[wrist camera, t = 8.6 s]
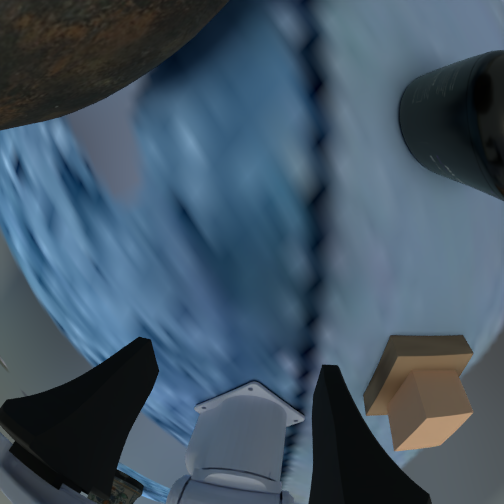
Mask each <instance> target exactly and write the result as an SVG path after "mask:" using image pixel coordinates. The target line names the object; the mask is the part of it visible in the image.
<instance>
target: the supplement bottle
mask: <svg viewBox="0 0 504 504" xmlns="http://www.w3.org/2000/svg"><path fill="white" fill-rule="evenodd" d="M400 123H401V129H402V133H403V136H404V139H405V141H406V143H407V145H408V147H409V149H410V151H411V152H412V154H413V155H414V156H415V158H416V159H417V160H418V161H419V162H420V163H421V164H422V165H423V166H425V167H426V168H427V169H429V170H430V171H432V172H434V173H436V174H439V175H442V176H444V177H447V178H449V179H452V180H455V181H457V182H460V183H462V184H465V185H467V186H470V187H472V188H475V189H477V190H480V191H482V192H484V193H486V194H489V195H491V196H493V197H495V198H498V199H500V200H502V201H504V50H497V51H491V52H487V53H484V54H481V55H477V56H474V57H471V58H468V59H465V60H462V61H459V62H456V63H453V64H450V65H448V66H445V67H442V68H439V69H437V70H434V71H432V72H429V73H426V74H424V75H422V76H420V77H418V78H417V79H415V80H414V81H413V82H412V83H411V84H410V85H409V86H408V87H407V89H406V91H405V93H404V95H403V98H402V101H401V106H400Z"/></svg>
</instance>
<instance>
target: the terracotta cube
mask: <svg viewBox="0 0 504 504" xmlns="http://www.w3.org/2000/svg"><path fill="white" fill-rule="evenodd" d="M386 407H387V412H388V417H389V423H390V428H391V434H392V440H393V447H394V451H402V450H412V449H420V448H427V447H434V446H440V445H441V444H442V443H443V442H444V441H445V440H446V439H448V438H449V437H450V436H451V435H452V434H453V433H454V432H455V431H456V430H457V429H458V428H459V427H460V426H461V425H462V424H463V423H464V422H465V421H466V420H467V419H468V418H469V417H470V415H471V414H472V413H473V410H472V408H471V405H470V402H469V400H468V398H467V395H466V393H465V390H464V388H463V386H462V383H461V381H460V379H459V377H458V374H457V372H456V370H411V372H410V373H409V375H408V376H407V378H406V379H405V381H404V382H403V384H402V385H401V387H400V388H399V390H398V391H397V392H396V394H395V395H394V397H393V398H392V399H391V401H390V402H389V403H388V405H387V406H386Z"/></svg>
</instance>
